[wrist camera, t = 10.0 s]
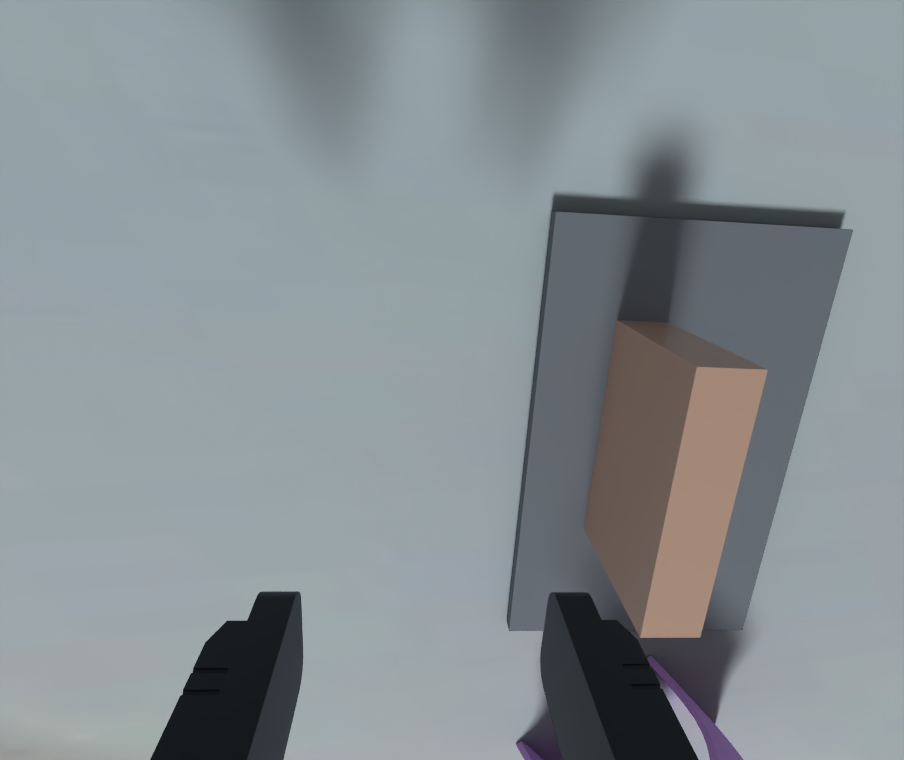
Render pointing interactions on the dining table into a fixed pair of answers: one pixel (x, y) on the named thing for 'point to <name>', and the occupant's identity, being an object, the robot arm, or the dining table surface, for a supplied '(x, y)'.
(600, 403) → the mat
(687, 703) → the toy chair
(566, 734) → the robot arm
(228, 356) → the dining table surface
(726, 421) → the block
